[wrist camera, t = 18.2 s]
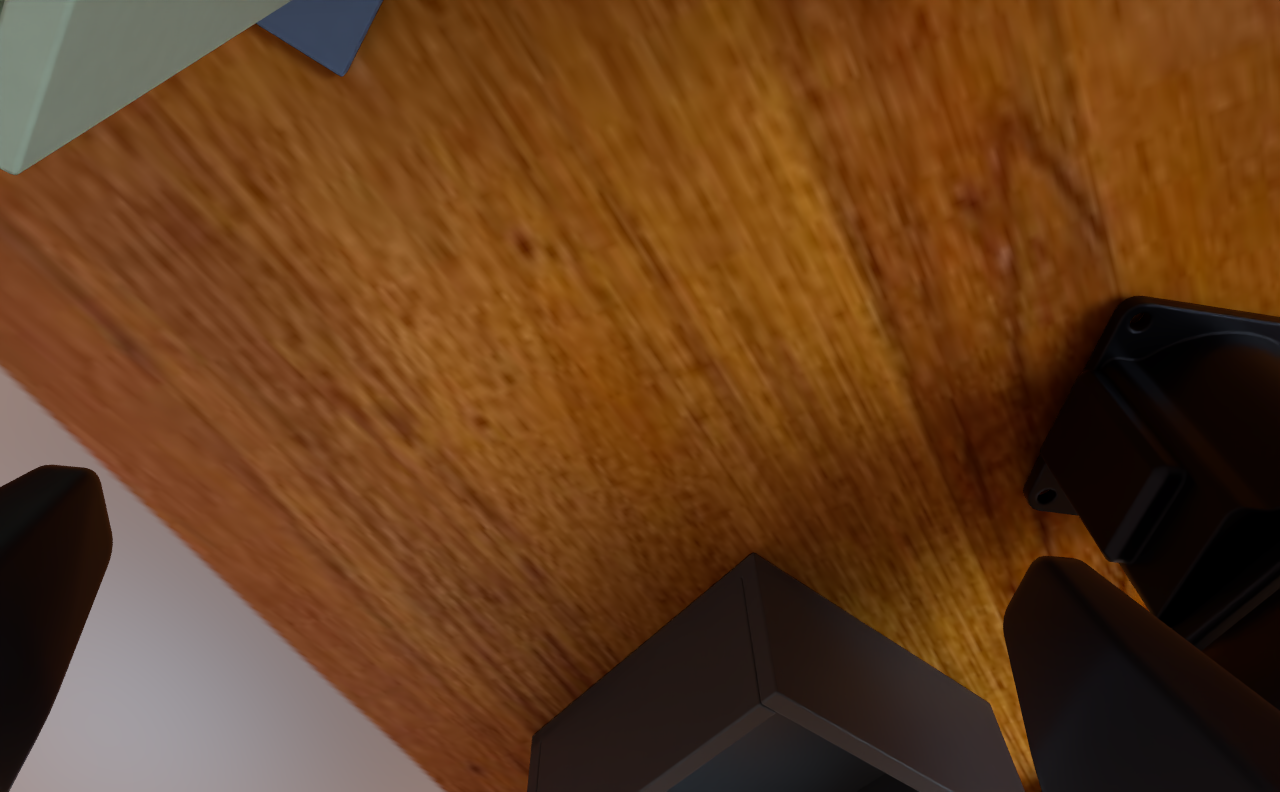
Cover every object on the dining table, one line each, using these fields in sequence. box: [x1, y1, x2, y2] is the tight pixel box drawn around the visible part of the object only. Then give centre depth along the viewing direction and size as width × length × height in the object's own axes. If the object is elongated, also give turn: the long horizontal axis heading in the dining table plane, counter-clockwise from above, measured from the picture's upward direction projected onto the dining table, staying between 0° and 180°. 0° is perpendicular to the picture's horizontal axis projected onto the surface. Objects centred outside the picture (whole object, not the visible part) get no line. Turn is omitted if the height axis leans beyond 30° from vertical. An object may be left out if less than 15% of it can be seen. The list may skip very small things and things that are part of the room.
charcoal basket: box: [527, 553, 1025, 792], centre depth 29 cm, size 11×11×5 cm
